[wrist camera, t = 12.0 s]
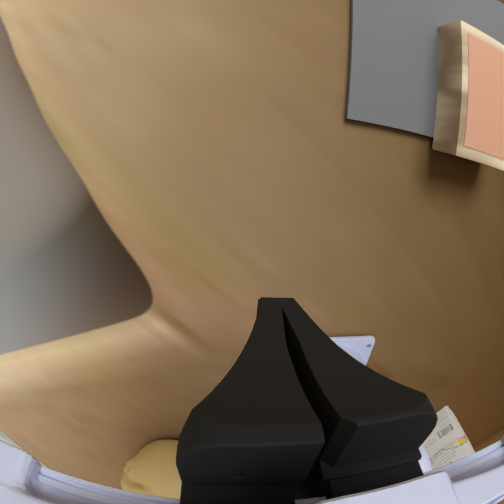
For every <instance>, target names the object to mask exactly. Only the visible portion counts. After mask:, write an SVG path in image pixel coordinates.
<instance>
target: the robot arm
mask: <svg viewBox="0 0 504 504" xmlns="http://www.w3.org/2000/svg"><path fill="white" fill-rule="evenodd" d="M374 343H375V339H374V337H373V336H351V337H328V336H327V335H326V334H325V333H324V332H323V331H322V330H321V329H320V328H319V327H318V326H317V325H316V324H315V323H314V322H313V320H312V319H311V318H310V317H309V316H308V315H307V314H306V312H305V311H304V310H303V309H302V308H301V306H300V305H299V304H298V303H297V302H296V301H295V299H294V298H266V297H261V298H260V299H259V300H258V307H257V318H256V321H255V324H254V327H253V330H252V332H251V334H250V337H249V339H248V341H247V343H246V345H245V347H244V349H243V351H242V353H241V354H240V356H239V358H238V359H237V361H236V362H235V364H234V365H233V367H232V368H231V369H230V371H229V372H228V373H227V375H226V376H225V377H224V378H223V380H222V381H221V382H220V383H219V384H218V385H217V386H216V387H215V389H214V390H213V391H212V392H211V393H210V394H209V395H208V396H207V397H206V398H205V399H203V400H202V401H201V402H200V403H199V404H198V405H197V406H196V407H194V408H193V409H192V411H191V413H190V415H189V417H188V419H187V421H186V423H185V425H184V427H183V429H182V432H181V434H180V437H179V441H178V444H177V452H176V466H177V469H178V473H179V476H180V479H181V482H182V484H181V495H180V499H176V498H167V497H160V496H153V495H147V494H141V493H136V492H131V491H126V490H121V489H116V488H112V487H108V486H104V485H100V484H96V483H92V482H89V481H85V480H82V479H78V478H75V477H72V476H69V475H66V474H63V473H60V472H57V471H54V470H51V469H49V468H46V467H43V466H41V465H40V463H39V462H38V461H37V460H36V458H34V457H33V456H32V455H31V454H29V453H28V452H26V451H24V450H22V449H20V448H17V447H15V446H13V445H11V444H8V443H6V442H4V441H0V504H496V503H498V502H499V501H501V500H503V499H504V437H503V438H502V440H500V441H498V442H496V443H494V444H492V445H490V446H488V447H486V448H484V449H482V450H480V451H478V452H475V453H473V454H471V455H469V456H467V457H464V458H462V459H459V460H457V461H455V462H452V463H450V464H447V465H444V466H442V467H439V468H436V469H434V470H432V467H431V464H430V461H429V458H428V455H427V452H426V450H425V447H424V445H423V442H424V441H425V440H426V439H427V438H428V436H429V435H430V434H431V433H432V431H433V430H434V428H435V426H436V424H437V420H438V417H437V414H436V412H435V410H434V408H433V406H432V405H431V403H430V401H429V399H428V397H427V396H426V394H425V393H422V392H420V391H417V390H414V389H412V388H409V387H406V386H404V385H401V384H399V383H397V382H395V381H392V380H390V379H388V378H386V377H384V376H382V375H381V374H379V373H377V372H375V371H373V370H372V369H370V368H369V367H367V366H366V364H367V361H368V359H369V356H370V354H371V351H372V348H373V346H374ZM367 345H368V346H367Z"/></svg>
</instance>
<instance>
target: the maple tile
mask: <svg viewBox="0 0 504 504" xmlns="http://www.w3.org/2000/svg"><path fill="white" fill-rule="evenodd" d="M432 149H433V150H437V151H441V152H444V153H448V154H452V155H455V156H459V157H462V158H466V159H469V160H472V161H475V162H479V163H482V164H485V165H488V166H491V167H494V168H497V169H500V170H503V171H504V45H503V44H501V43H500V42H498V41H497V40H495V39H493V38H492V37H490V36H488V35H487V34H485V33H483V32H482V31H480V30H478V29H476V28H475V27H473V26H471V25H469V24H467V23H466V22H464V21H462V20H459V21H455V22H452V23H449V24H446V25H443V26H440V27H438V88H437V105H436V117H435V127H434V137H433V145H432Z"/></svg>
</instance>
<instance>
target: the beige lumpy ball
mask: <svg viewBox="0 0 504 504" xmlns="http://www.w3.org/2000/svg"><path fill="white" fill-rule="evenodd" d="M178 441H179V440H169V439H162V440H156V441H153V442H151V443H149V444H147V445H146V446H145V447H143V448H142V449H141V450H140V451H139V452H138V453H137V454H136V456H135V457H134V458H132V459H130V460H128V461H127V463H126V466H125V467H124V473H123V475H122V477H121V480H120V484H121V487H122V489H123V490H126V491H131V492H136V493H141V494H147V495H153V496H160V497H167V498H176V499H180V495H181V484H182V482H181V479H180V476H179V473H178V469H177V466H176V452H177V444H178Z"/></svg>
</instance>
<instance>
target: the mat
mask: <svg viewBox="0 0 504 504" xmlns="http://www.w3.org/2000/svg"><path fill="white" fill-rule="evenodd" d="M459 20H462V21H464V22H466V23H467V24H469V25H471V26H473V27H475V28H476V29H478V30H480V31H482V32H483V33H485V34H487V35H488V36H490V37H492V38H493V39H495V40H497V41H498V42H500V43H501V44H503V45H504V4H502V3H501V2H499V1H498V0H351V34H350V59H349V77H348V92H347V105H346V117H345V118H346V119H351V120H357V121H363V122H368V123H373V124H378V125H383V126H388V127H392V128H397V129H401V130H405V131H409V132H413V133H417V134H421V135H425V136H429V137H434V127H435V117H436V105H437V88H438V27H440V26H443V25H446V24H449V23H452V22H455V21H459Z"/></svg>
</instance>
